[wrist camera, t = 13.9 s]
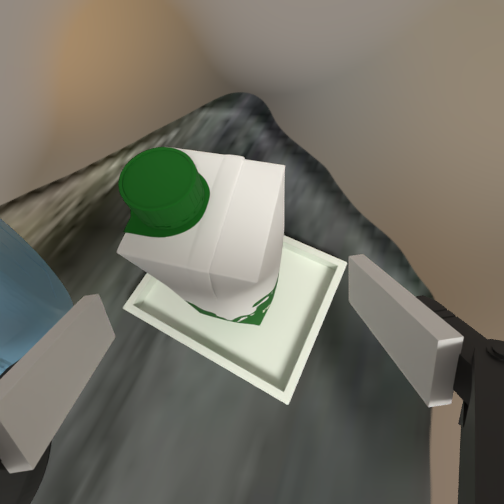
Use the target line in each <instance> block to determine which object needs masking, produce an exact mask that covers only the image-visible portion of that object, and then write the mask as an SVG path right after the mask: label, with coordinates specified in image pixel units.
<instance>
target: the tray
mask: <svg viewBox="0 0 504 504" xmlns="http://www.w3.org/2000/svg"><path fill="white" fill-rule="evenodd" d="M346 265H347V262H345V261H342V260H340V259H338V258H335V257H333V256H331V255H328V254H326V253H324V252H322V251H319V250H317V249H315V248H312V247H310V246H308V245H306V244H303V243H301V242H299V241H296V240H294V239H292V238H289V237H287V236H285V235H284V237H283V246H282V255H281V263H280V270H279V277H278V283H277V287H276V290H275V294H274V298H273V300H272V303H271V305H270V307H269V309H268V311H267V313H266V315H265V317H264V318H263V320H262V322H261V324H260V326H258V325H252V324H243V323H236V322H231V321H226V320H222V319H219V318H215V317H211V316H208V315H204V314H202V313H199V312H198V311H197V310H196V309H195V308H193V307H192V306H191V305H190V304H188V303H187V302H186V301H185V300H183V299H182V298H181V297H180V296H179V295H177V294H176V293H175V292H174V291H173V290H171V289H170V288H169V287H168V286H166V285H165V284H163V283H162V282H160V281H159V280H157V279H156V278H154V277H153V276H151V275H150V274H148V273H147V274H146V275H145V276H144V278H143V279H142V281H141V282H140V284H139V285H138V286H137V288H136V289H135V291H134V292H133V294H132V295H131V297H130V298H129V299H128V301H127V302H126V304H125V305H124V307H123V309H125V310H127V311H128V312H130V313H132V314H133V315H135V316H137V317H138V318H140V319H142V320H144V321H145V322H147V323H149V324H150V325H152V326H154V327H156V328H157V329H159V330H161V331H162V332H164V333H166V334H168V335H169V336H171V337H173V338H174V339H176V340H178V341H179V342H181V343H183V344H185V345H186V346H188V347H190V348H191V349H193V350H195V351H197V352H198V353H200V354H202V355H203V356H205V357H207V358H209V359H210V360H212V361H214V362H215V363H217V364H219V365H220V366H222V367H224V368H226V369H227V370H229V371H231V372H232V373H234V374H236V375H238V376H239V377H241V378H243V379H244V380H246V381H248V382H250V383H251V384H253V385H255V386H256V387H258V388H260V389H261V390H263V391H265V392H267V393H268V394H270V395H272V396H273V397H275V398H277V399H279V400H280V401H282V402H284V403H285V404H287V405H288V404H289V402H290V399H291V397H292V395H293V392H294V390H295V387H296V385H297V383H298V380H299V378H300V375H301V373H302V371H303V368H304V366H305V363H306V361H307V359H308V356H309V354H310V351H311V349H312V347H313V344H314V342H315V339H316V337H317V335H318V332H319V330H320V327H321V325H322V323H323V320H324V318H325V315H326V313H327V311H328V308H329V306H330V303H331V301H332V299H333V296H334V294H335V291H336V289H337V287H338V284H339V282H340V279H341V277H342V275H343V272H344V270H345V267H346Z"/></svg>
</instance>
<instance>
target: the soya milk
mask: <svg viewBox="0 0 504 504" xmlns="http://www.w3.org/2000/svg"><path fill="white" fill-rule="evenodd" d="M284 182H285V166H284V165H279V164H272V163H265V162H259V161H252V160H245V158H244V157H242V156H236V155H229V154H228V155H222V154H215V153H208V152H201V151H194V150H186V149H179V148H172V147H158V148H152V149H149V150H146V151H144V152H141V153H140V154H138V155H136V156H135V157H134V158H132V159H131V160H130V161H129V162H128V163H127V164H126V165H125V167H124V168H123V170H122V172H121V174H120V177H119V183H118V186H119V192H120V194H121V196H122V198H123V200H124V201H125V203H126V204H127V205H128V206H129V207H130V209H131V217H130V219H129V221H128V223H127V225H126V227H125V229H124V232H126V233H125V235H124V237H123V239H122V241H121V243H120V245H119V247H118V250H117V253H118V254H119V255H121V256H122V257H124V258H125V259H127V260H129V261H130V262H132V263H133V264H135V265H136V266H138V267H139V268H141V269H142V270H144V271H145V272H147V273H148V274H150V275H151V276H153V277H154V278H156V279H157V280H159V281H160V282H162V283H163V284H165V285H166V286H168V287H169V288H170V289H171V290H173V291H174V292H175V293H176V294H177V295H179V296H180V297H181V298H182V299H183V300H185V301H186V302H187V303H188V304H190V305H191V306H192V307H193V308H195V309H196V310H197V311H198V312H199V313H202V314H204V315H208V316H211V317H215V318H219V319H222V320H226V321H231V322H236V323H243V324H252V325H258V326H260V324H261V322H262V320H263V318H264V317H265V315H266V313H267V311H268V309H269V307H270V305H271V303H272V300H273V298H274V294H275V290H276V287H277V283H278V277H279V270H280V263H281V255H282V246H283V237H284Z"/></svg>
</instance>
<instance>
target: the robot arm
mask: <svg viewBox="0 0 504 504" xmlns="http://www.w3.org/2000/svg"><path fill="white" fill-rule="evenodd" d="M349 302H350V304H351V305H352V306H353V308H354V309H355V310H356V312H357V313H358V314H359V316H360V317H361V318H362V320H363V321H364V322H365V324H366V325H367V326H368V328H369V329H370V330H371V332H372V333H373V334H374V336H375V337H376V338H377V339H378V341H379V342H380V343H381V345H382V346H383V347H384V349H385V350H386V351H387V353H388V354H389V355H390V357H391V358H392V359H393V361H394V362H395V363H396V365H397V366H398V367H399V369H400V370H401V371H402V373H403V374H404V375H405V377H406V378H407V379H408V381H409V382H410V383H411V385H412V386H413V387H414V389H415V390H416V391H417V393H418V394H419V395H420V397H421V398H422V399H423V401H424V402H425V403H426V405H427V406H428V407H433V406H440V405H446V404H451V402H452V396H453V391H455V392H457V394H458V395H459V396H460V397H461V398H462V399H463V404H462V409H461V414H460V418H459V423H458V424H459V425H461V439H460V440H461V441H460V465H459V488H458V504H504V341H500V340H493V339H486V338H485V337H483V336H482V335H481V334H479V333H478V332H477V331H475V330H474V329H473V328H472V327H470V326H469V325H467V324H466V323H465V322H464V321H462V320H461V319H459V318H458V317H456V316H455V315H454V314H453V313H452V312H450V311H449V310H448V311H447V309H446V308H445V307H444V306H442V305H441V304H440V303H438V302H437V301H435V300H433V299H430V298H428V297H426V296H417V297H415V296H414V295H412V294H411V293H410V292H409V291H407V290H406V289H405V288H404V287H403V286H401V285H400V284H399V283H398V282H396V281H395V280H394V279H393V278H392V277H390V276H389V275H388V274H387V273H385V272H384V271H383V270H382V269H381V268H379V267H378V266H377V265H376V264H374V263H373V262H372V261H371V260H370V259H368V258H367V257H366V256H365V255H363V254H361V255H354V256H349ZM114 339H115V334H114V332H113V329H112V327H111V324H110V321H109V319H108V316H107V314H106V311H105V309H104V306H103V304H102V301H101V298H100V296H99V294H94V295H87V296H83V297H82V298H81V299H80V300H79V301H78V302H77V303H76V304H75V305H74V306H73V303H72V300H71V298H70V296H69V294H68V292H67V290H66V289H65V287H64V285H63V284H62V283H61V281H60V280H59V278H58V277H57V276H56V274H55V273H54V272H53V271H52V269H51V268H50V267H49V266H48V265H47V263H46V262H45V261H44V260H43V259H42V258H41V257H40V256H39V254H38V253H37V252H36V251H35V250H34V249H33V248H32V247H31V246H30V245H29V244H28V243H27V242H26V241H25V240H24V239H23V238H22V237H21V236H20V235H19V234H17V233H16V232H15V231H14V230H13V229H12V228H11V227H10V226H9V225H7V224H6V223H5V222H4V221H3V220H2V219H0V504H30V503H31V501H32V499H33V498H34V496H35V494H36V492H37V490H38V488H39V485H40V483H41V480H42V478H43V475H44V472H45V469H46V465H47V461H48V456H49V450H50V442H51V440H52V439H53V437H54V435H55V434H56V432H57V431H58V429H59V427H60V426H61V424H62V422H63V421H64V419H65V418H66V416H67V414H68V413H69V411H70V410H71V408H72V406H73V405H74V403H75V402H76V400H77V398H78V397H79V395H80V393H81V392H82V390H83V389H84V387H85V385H86V384H87V382H88V381H89V379H90V377H91V376H92V374H93V372H94V371H95V369H96V368H97V366H98V364H99V363H100V361H101V360H102V358H103V356H104V355H105V353H106V351H107V350H108V348H109V347H110V345H111V343H112V342H113V340H114Z"/></svg>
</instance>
